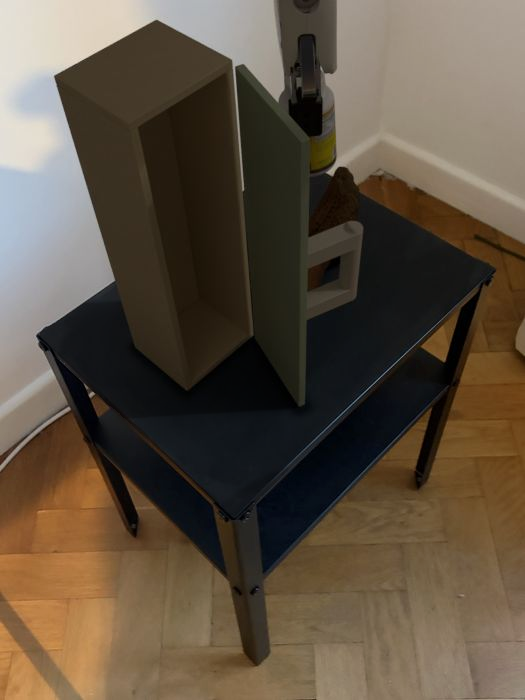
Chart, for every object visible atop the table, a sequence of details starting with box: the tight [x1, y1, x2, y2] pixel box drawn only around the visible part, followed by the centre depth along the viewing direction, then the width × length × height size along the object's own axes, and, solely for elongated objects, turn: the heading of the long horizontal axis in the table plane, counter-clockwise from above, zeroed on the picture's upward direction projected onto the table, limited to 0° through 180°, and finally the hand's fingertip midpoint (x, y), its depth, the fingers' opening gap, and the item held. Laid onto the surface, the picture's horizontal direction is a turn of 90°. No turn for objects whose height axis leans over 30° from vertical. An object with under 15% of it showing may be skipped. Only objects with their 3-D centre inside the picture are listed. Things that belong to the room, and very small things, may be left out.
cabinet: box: [53, 19, 255, 392], centre depth 63 cm, size 8×9×31 cm
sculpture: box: [249, 166, 361, 297], centre depth 76 cm, size 8×10×15 cm
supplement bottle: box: [277, 67, 338, 178], centre depth 74 cm, size 6×6×10 cm
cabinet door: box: [234, 63, 364, 408], centre depth 61 cm, size 6×9×31 cm
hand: (302, 114), depth 73 cm, fingers closed on supplement bottle, 5 cm apart
